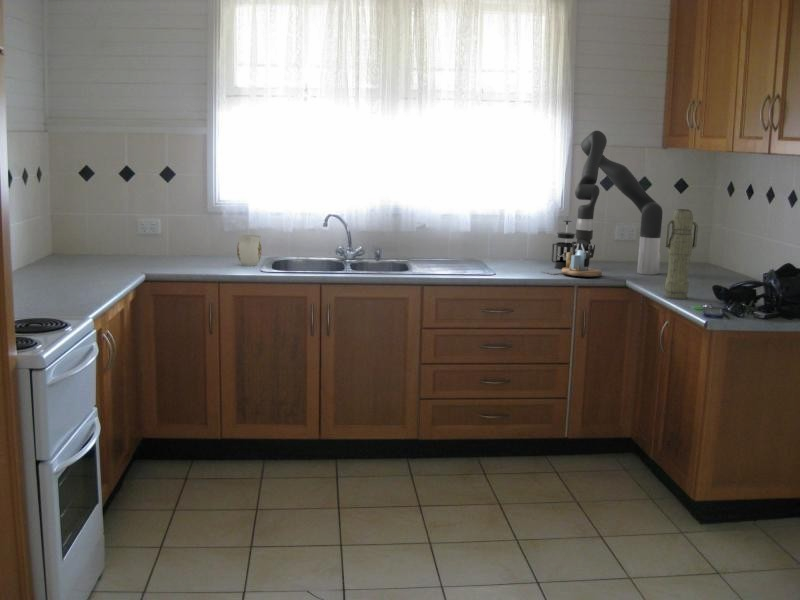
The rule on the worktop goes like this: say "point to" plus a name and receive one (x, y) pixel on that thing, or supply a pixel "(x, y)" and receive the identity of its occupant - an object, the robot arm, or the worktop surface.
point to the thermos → (679, 253)
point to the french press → (562, 247)
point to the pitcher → (249, 249)
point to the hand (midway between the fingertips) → (582, 265)
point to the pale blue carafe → (578, 261)
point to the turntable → (576, 272)
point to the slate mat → (553, 272)
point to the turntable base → (582, 276)
